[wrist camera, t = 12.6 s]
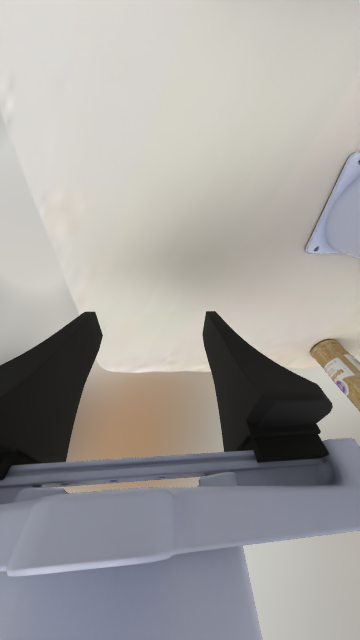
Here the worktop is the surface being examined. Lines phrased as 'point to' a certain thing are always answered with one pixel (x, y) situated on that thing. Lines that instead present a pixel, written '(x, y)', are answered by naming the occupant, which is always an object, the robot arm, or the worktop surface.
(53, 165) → the worktop surface
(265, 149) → the worktop surface
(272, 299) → the worktop surface
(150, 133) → the worktop surface
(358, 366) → the sprinkles bottle
